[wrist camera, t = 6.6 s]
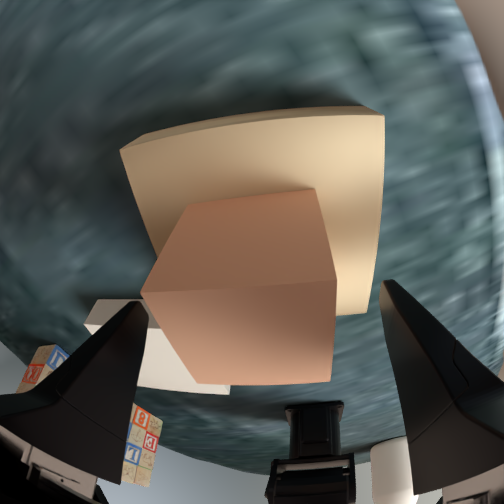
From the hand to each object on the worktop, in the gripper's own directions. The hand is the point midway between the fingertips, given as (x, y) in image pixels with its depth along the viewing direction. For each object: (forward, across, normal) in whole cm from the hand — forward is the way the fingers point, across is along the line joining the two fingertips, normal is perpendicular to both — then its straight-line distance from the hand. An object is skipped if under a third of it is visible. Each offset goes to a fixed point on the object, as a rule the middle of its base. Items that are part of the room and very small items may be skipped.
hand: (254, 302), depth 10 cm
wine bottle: (+6, -18, +52) cm, 55 cm away
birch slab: (+6, 0, 0) cm, 6 cm away
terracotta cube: (+3, 0, 0) cm, 3 cm away
